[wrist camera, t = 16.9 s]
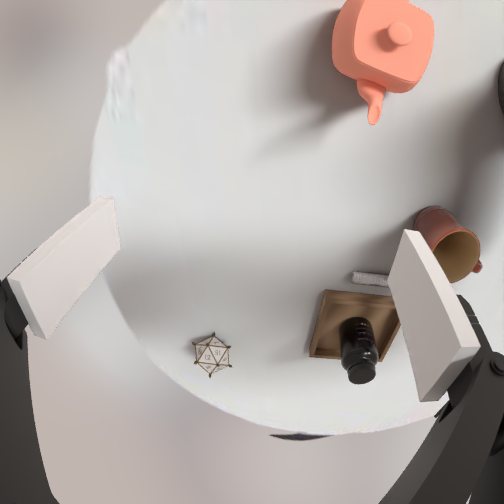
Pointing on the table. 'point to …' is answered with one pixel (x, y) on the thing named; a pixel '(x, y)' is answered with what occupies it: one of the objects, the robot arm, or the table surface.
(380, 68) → the teapot
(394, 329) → the tray
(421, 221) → the mug
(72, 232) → the robot arm
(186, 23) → the table surface
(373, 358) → the supplement bottle
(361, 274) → the pin
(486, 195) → the table surface
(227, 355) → the game die
